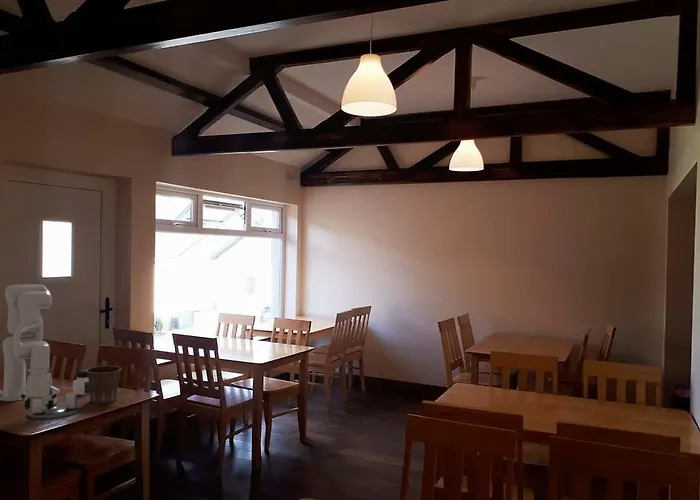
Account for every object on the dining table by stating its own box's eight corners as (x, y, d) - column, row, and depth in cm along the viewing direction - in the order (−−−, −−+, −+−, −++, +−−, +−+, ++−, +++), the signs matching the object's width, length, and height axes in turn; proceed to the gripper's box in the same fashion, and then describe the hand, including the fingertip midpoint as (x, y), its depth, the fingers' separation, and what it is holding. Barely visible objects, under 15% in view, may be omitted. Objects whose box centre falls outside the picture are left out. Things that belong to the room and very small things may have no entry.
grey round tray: (19, 419, 254) (19, 414, 254) (39, 406, 275) (39, 401, 275) (68, 419, 257) (69, 413, 257) (84, 406, 278) (84, 401, 278)
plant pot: (108, 406, 279) (109, 373, 279) (78, 403, 282) (79, 371, 282) (126, 397, 295) (127, 366, 295) (98, 395, 298) (98, 365, 298)
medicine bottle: (84, 395, 298) (85, 372, 298) (72, 394, 300) (73, 371, 300) (93, 392, 305) (93, 369, 306) (81, 391, 307) (82, 368, 307)
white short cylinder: (63, 410, 264) (64, 394, 264) (67, 407, 269) (68, 391, 269) (74, 410, 265) (75, 394, 265) (78, 407, 270) (79, 391, 270)
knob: (30, 414, 256) (31, 398, 256) (35, 411, 261) (36, 395, 261) (42, 414, 257) (42, 398, 257) (46, 411, 262) (47, 395, 262)
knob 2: (43, 406, 269) (43, 390, 269) (47, 403, 274) (48, 388, 274) (54, 406, 270) (54, 390, 270) (58, 403, 275) (58, 388, 275)
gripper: (15, 373, 254) (15, 411, 254) (56, 372, 256) (55, 410, 256) (23, 369, 261) (22, 406, 261) (63, 369, 263) (62, 406, 263)
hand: (39, 408), depth 259 cm, fingers open, 9 cm apart
